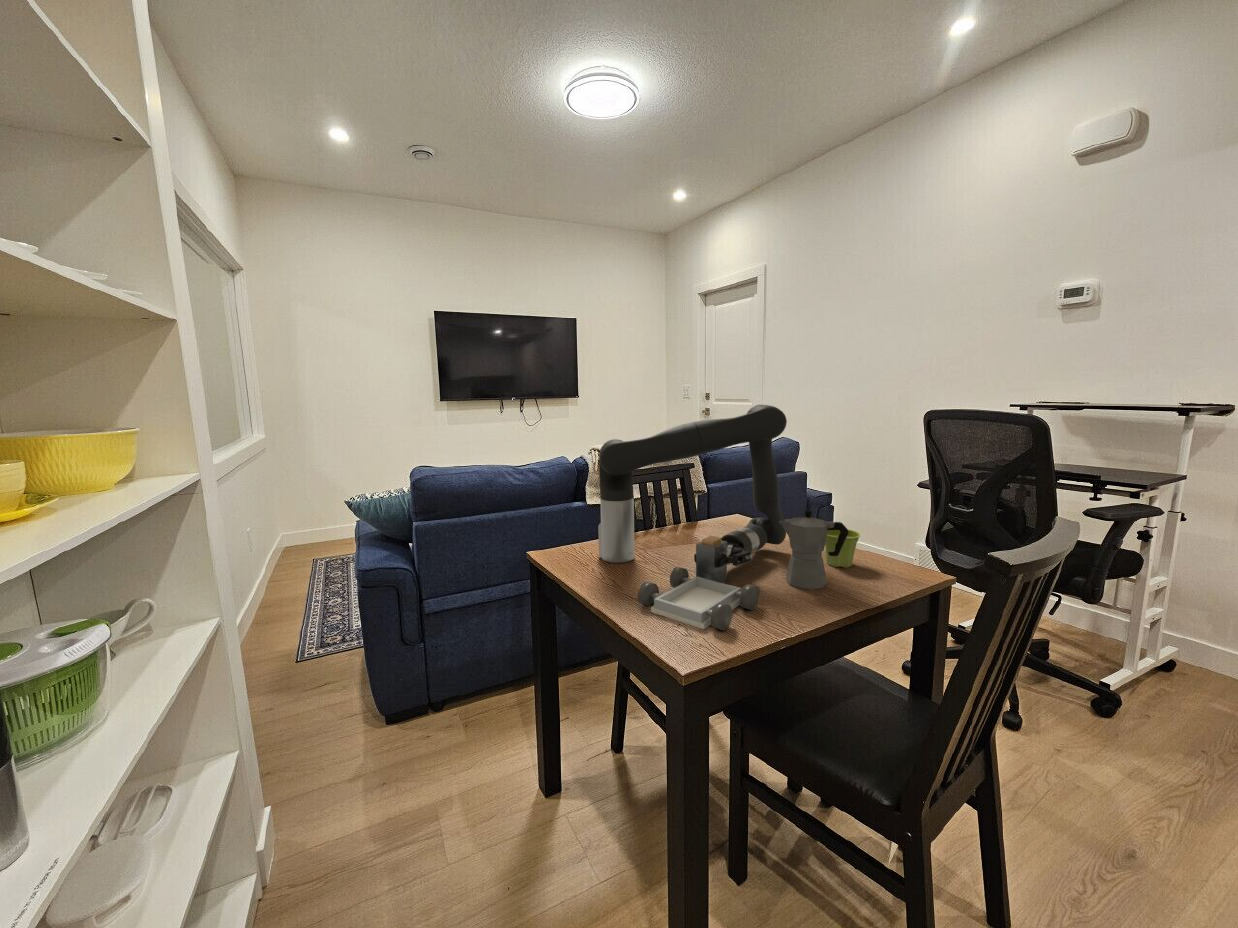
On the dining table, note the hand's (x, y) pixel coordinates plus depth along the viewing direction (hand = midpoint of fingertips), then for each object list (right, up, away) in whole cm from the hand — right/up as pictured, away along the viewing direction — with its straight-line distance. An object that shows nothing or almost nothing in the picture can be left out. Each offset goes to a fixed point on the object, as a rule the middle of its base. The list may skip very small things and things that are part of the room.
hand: (706, 561), depth 122 cm
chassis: (-4, -8, -11) cm, 14 cm away
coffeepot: (+25, -6, +1) cm, 26 cm away
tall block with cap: (+2, -6, +3) cm, 7 cm away
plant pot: (+38, -4, +14) cm, 40 cm away
